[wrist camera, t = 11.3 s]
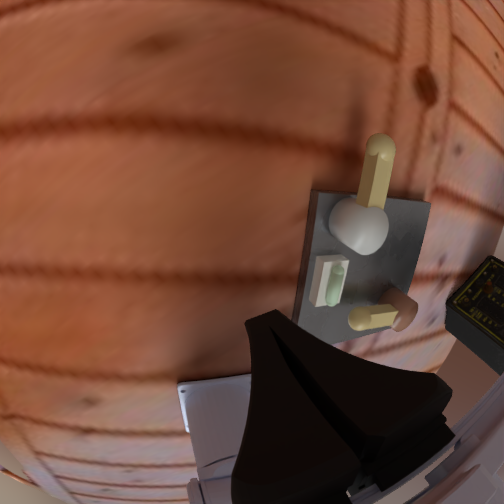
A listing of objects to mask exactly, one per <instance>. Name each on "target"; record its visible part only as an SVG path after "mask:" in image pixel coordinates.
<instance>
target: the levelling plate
mask: <svg viewBox="0 0 504 504" xmlns="http://www.w3.org/2000/svg"><path fill="white" fill-rule="evenodd" d="M357 194H358V193H352V192H340V191H326V190H311V195H310V203H309V211H308V219H307V227H306V234H305V241H304V248H303V255H302V262H301V268H300V275H299V281H298V287H297V293H296V299H295V305H294V310H293V316H292V322H294V323H295V324H297V325H298V326H300V327H301V328H303V329H304V330H306V331H307V332H309V333H310V334H312V335H314V336H315V337H317V338H319V339H320V340H322V341H324V342H326V343H328V344H330V345H331V344H335V343H339V342H343V341H347V340H351V339H355V338H358V337H362V336H366V335H369V334H373V333H376V332H379V331H383V330H386V329H389V328H391V327H390V326H384V327H378V328H372V329H366V330H362V331H357V330H354V329H352V328H351V327H350V325H349V323H348V315H349V313H350V311H351V310H352V309H354V308H355V307H358V306H362V307H364V306H374V305H377V303H378V301H379V299H380V297H381V296H382V295H383V294H384V293H385V292H386V291H387V290H389V289H390V288H394V287H396V288H398V289H399V290H401V291H402V292H403V293H405V294H406V295H407V293H408V290H409V287H410V284H411V281H412V278H413V275H414V271H415V268H416V265H417V261H418V258H419V254H420V250H421V246H422V243H423V239H424V234H425V230H426V226H427V221H428V217H429V212H430V207H431V203H429V202H426V201H423V200H417V199H409V198H401V197H392V196H386V201H385V205H384V209H383V211H384V212H385V213H386V215H387V217H388V222H389V228H388V234H387V237H386V239H385V241H384V243H383V244H382V246H381V247H380V248H379V249H378V250H377V251H375V252H374V253H372V254H369V255H361V254H359V253H357V252H356V251H354V250H353V249H351V248H350V247H348V246H347V245H345V244H344V243H342V242H340V241H339V240H337V239H336V238H335V237H334V236H333V235H332V234H331V232H330V229H329V217H330V213H331V211H332V209H333V208H334V206H335V205H336V204H337V203H338V202H339V201H340V200H342V199H344V198H348V197H352V198H356V199H357ZM340 254H341V255H343V256H344V257H346V258H347V259H348V260H349V264H348V268H347V273H346V277H345V282H344V286H343V290H342V294H341V298H340V302H339V303H337V304H336V305H335V306H332V307H331V306H328V305H325V306H319V307H315V306H314V305H313V304H312V303H311V302H310V301H309V295H310V290H311V285H312V279H313V274H314V268H315V262H316V257H317V256H324V255H340Z"/></svg>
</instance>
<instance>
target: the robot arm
mask: <svg viewBox="0 0 504 504" xmlns="http://www.w3.org/2000/svg"><path fill="white" fill-rule="evenodd" d="M244 324H245V327H246V330H247V333H248V336H249V342H250V352H251V374H246V375H240V376H233V377H226V378H218V379H210V380H202V381H192V382H181V383H179V384H178V385H177V388H178V394H179V399H180V405H181V410H182V415H183V419H184V424H185V429H186V431H187V432H190V437H191V442H192V446H193V451H194V455H195V460H196V464H197V472H198V476H199V480H200V481H198V480H197V478H192V479H190V482H189V483H188V484H187V492H188V497H189V502H190V504H373V503H375V502H376V501H378V500H380V499H382V498H383V497H385V496H387V495H388V494H390V493H391V492H393V491H395V490H396V489H398V488H399V487H401V486H402V485H404V484H405V483H406V482H408V481H410V480H411V479H412V478H414V477H415V476H416V475H418V474H419V473H421V472H422V471H423V470H424V469H426V468H427V467H428V466H430V465H431V464H432V463H433V462H435V461H436V460H437V459H438V458H440V457H441V456H442V455H443V454H444V453H445V452H446V451H448V450H449V449H450V448H451V447H452V446H453V445H454V444H455V446H454V451H453V452H452V453H451V454H450V455H449V456H448V457H447V458H446V459H445V460H444V461H442V462H441V463H440V464H439V465H438V466H437V467H436V468H435V469H433V470H432V471H431V472H430V473H429V474H427V475H426V476H425V479H426V481H427V482H428V483H429V486H428V487H426V488H425V489H424V490H422V491H421V492H419V493H418V494H417V495H415V496H414V497H412V498H411V499H410V500H408V501H406V502H405V503H403V504H504V482H503V481H502V480H501V478H500V477H499V476H498V475H497V473H496V472H497V471H498V470H499V468H500V467H501V466H502V464H503V463H504V372H503V374H502V375H501V376H500V377H499V378H498V380H497V381H496V382H495V383H494V385H493V386H492V387H491V388H490V389H489V390H488V391H487V392H486V394H485V395H484V396H483V397H482V398H481V399H480V400H479V401H478V402H477V403H476V404H475V405H474V406H473V407H472V408H471V409H470V410H469V411H468V412H467V413H466V415H464V416H463V417H462V418H461V419H460V420H459V421H458V422H457V423H456V424H455V425H454V426H453V427H452V428H449V427H448V426H447V425H446V424H445V422H446V417H445V416H444V415H443V414H442V412H443V410H444V409H445V407H446V406H447V404H448V402H449V401H450V399H451V397H452V389H451V388H450V387H449V386H448V385H447V384H446V383H445V382H444V381H443V380H442V379H441V378H440V377H438V376H437V375H436V374H435V373H426V372H417V371H408V370H402V369H397V368H392V367H388V366H385V365H381V364H377V363H374V362H370V361H367V360H364V359H362V358H359V357H356V356H354V355H351V354H349V353H346V352H344V351H342V350H340V349H338V348H336V347H333V346H332V345H330V344H328V343H326V342H324V341H322V340H320V339H319V338H317V337H315V336H314V335H312V334H310V333H309V332H307V331H306V330H304V329H303V328H301V327H300V326H298V325H297V324H295V323H294V322H292V321H291V320H290V319H288V318H287V317H286V316H285V315H283V314H282V313H281V312H280V311H278V310H276V309H275V310H273V311H270V312H267V313H265V314H262V315H259V316H257V317H254V318H251V319H248V320H246V322H245V323H244ZM347 490H348V492H349V493H350V495H351V497H348V495H347V494H346V491H347Z"/></svg>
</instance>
